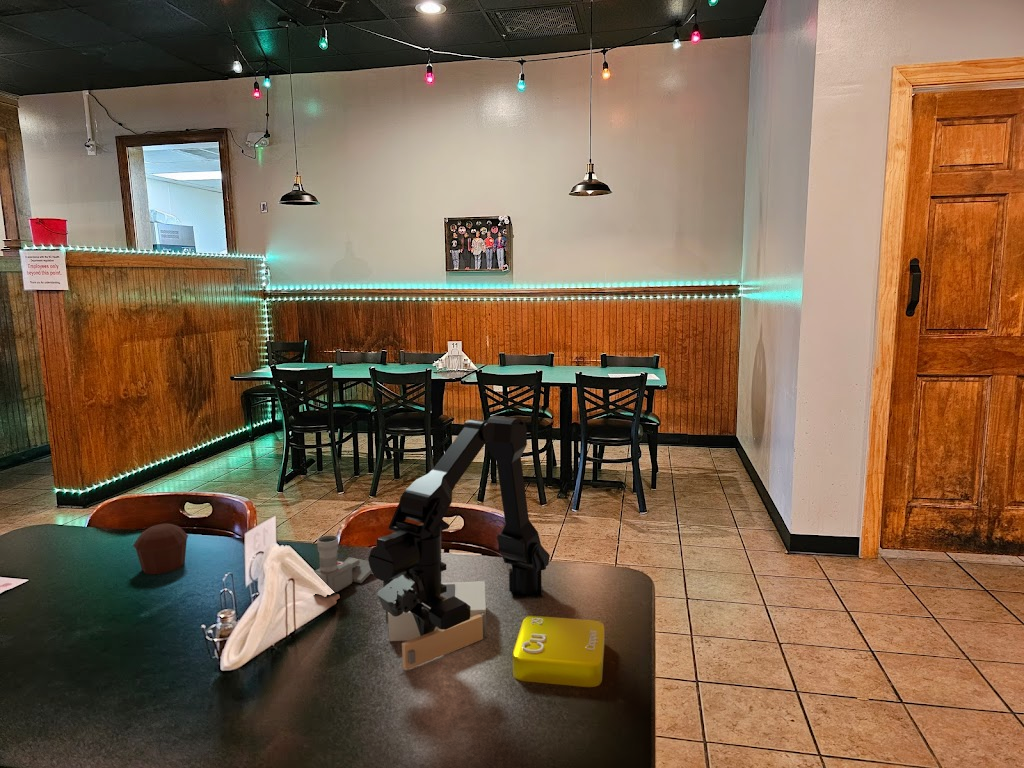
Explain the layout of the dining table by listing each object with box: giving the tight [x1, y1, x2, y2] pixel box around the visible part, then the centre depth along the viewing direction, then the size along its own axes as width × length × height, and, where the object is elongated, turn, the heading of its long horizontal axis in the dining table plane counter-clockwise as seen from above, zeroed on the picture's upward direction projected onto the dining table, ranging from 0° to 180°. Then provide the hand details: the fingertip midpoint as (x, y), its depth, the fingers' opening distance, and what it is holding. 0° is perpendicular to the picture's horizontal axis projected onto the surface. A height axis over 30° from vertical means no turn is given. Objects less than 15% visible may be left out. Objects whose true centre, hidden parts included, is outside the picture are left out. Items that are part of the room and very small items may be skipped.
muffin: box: [132, 523, 189, 575], centre depth 155 cm, size 12×11×10 cm
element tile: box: [512, 615, 605, 688], centre depth 114 cm, size 15×15×5 cm
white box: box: [385, 580, 487, 642], centre depth 127 cm, size 19×12×6 cm, turn 93°
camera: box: [313, 534, 373, 593], centre depth 145 cm, size 9×12×15 cm
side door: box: [401, 613, 487, 671], centre depth 116 cm, size 17×2×4 cm, turn 127°
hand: (425, 642), depth 116 cm, fingers closed
